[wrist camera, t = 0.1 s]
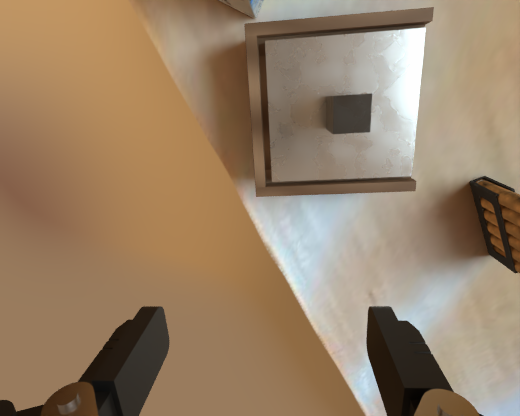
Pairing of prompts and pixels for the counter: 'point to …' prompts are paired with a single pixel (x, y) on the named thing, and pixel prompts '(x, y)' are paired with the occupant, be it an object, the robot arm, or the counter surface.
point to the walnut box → (259, 95)
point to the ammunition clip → (499, 220)
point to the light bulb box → (245, 6)
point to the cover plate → (343, 76)
